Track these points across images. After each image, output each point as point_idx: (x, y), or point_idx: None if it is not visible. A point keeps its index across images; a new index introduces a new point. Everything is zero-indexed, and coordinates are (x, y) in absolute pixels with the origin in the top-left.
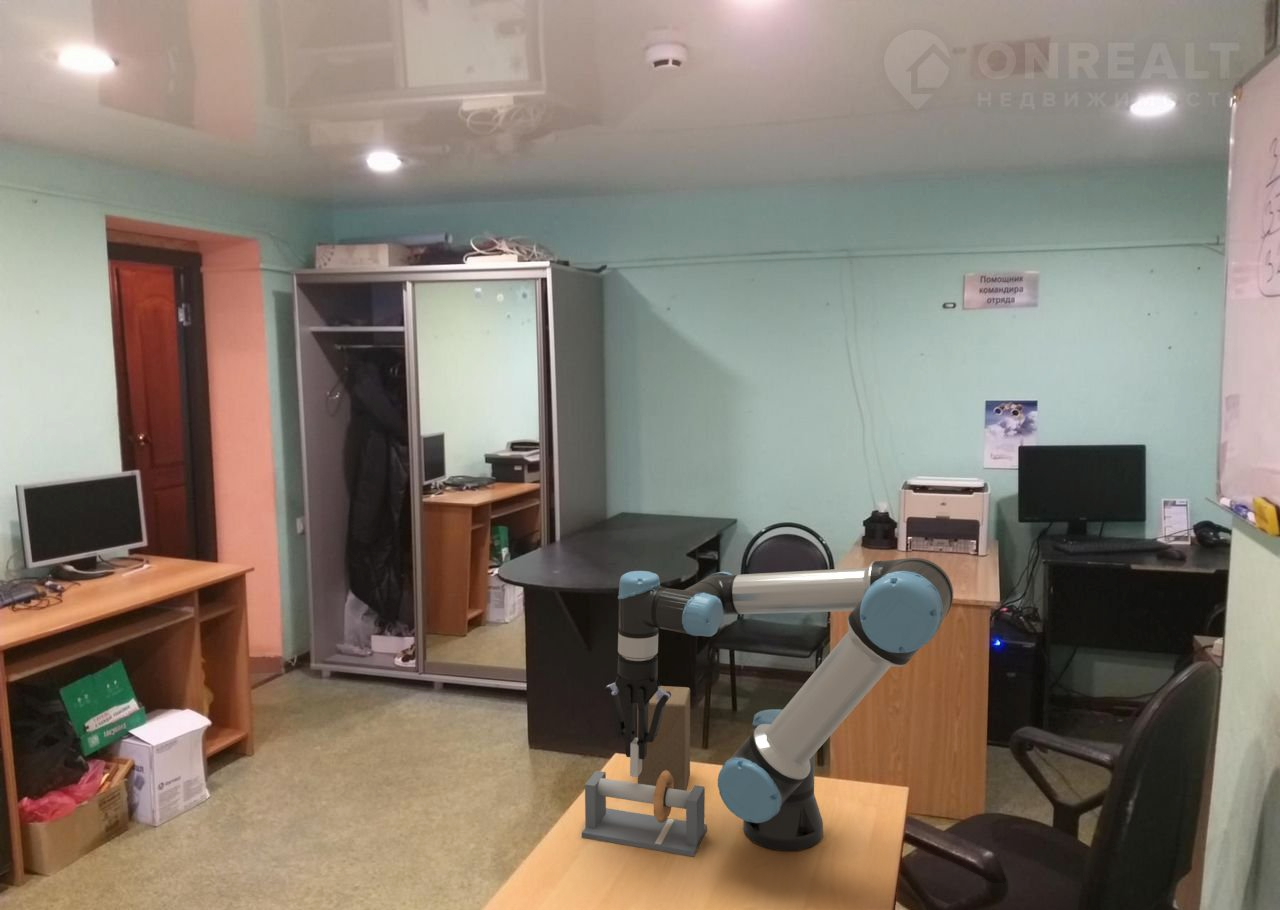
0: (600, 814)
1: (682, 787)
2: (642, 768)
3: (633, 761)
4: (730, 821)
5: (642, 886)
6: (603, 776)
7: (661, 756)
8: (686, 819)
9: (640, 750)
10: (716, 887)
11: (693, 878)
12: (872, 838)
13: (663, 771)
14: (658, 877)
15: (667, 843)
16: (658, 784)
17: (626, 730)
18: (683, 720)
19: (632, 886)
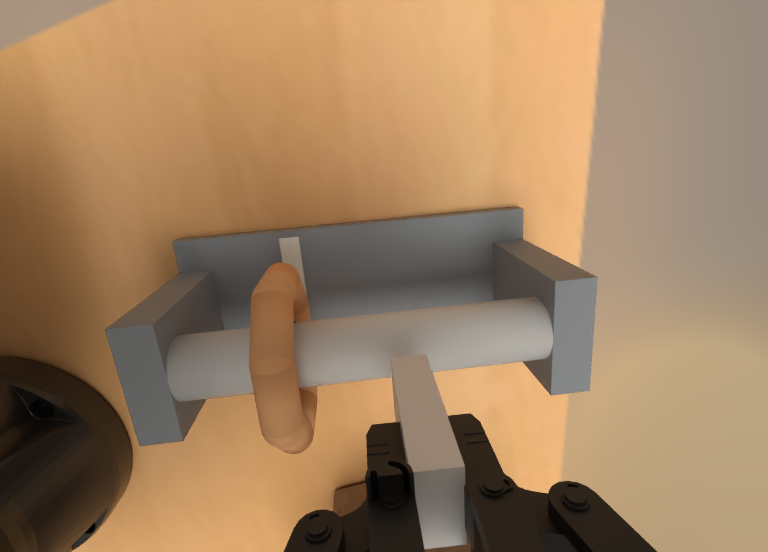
0: (500, 290)
1: (338, 508)
2: None
3: (421, 396)
4: None
5: (245, 28)
6: (548, 370)
7: None
8: (182, 295)
9: (395, 457)
10: (38, 112)
11: (125, 132)
12: None
13: (290, 431)
14: (223, 95)
15: (263, 251)
16: (274, 339)
17: (532, 545)
18: None
19: (273, 15)
